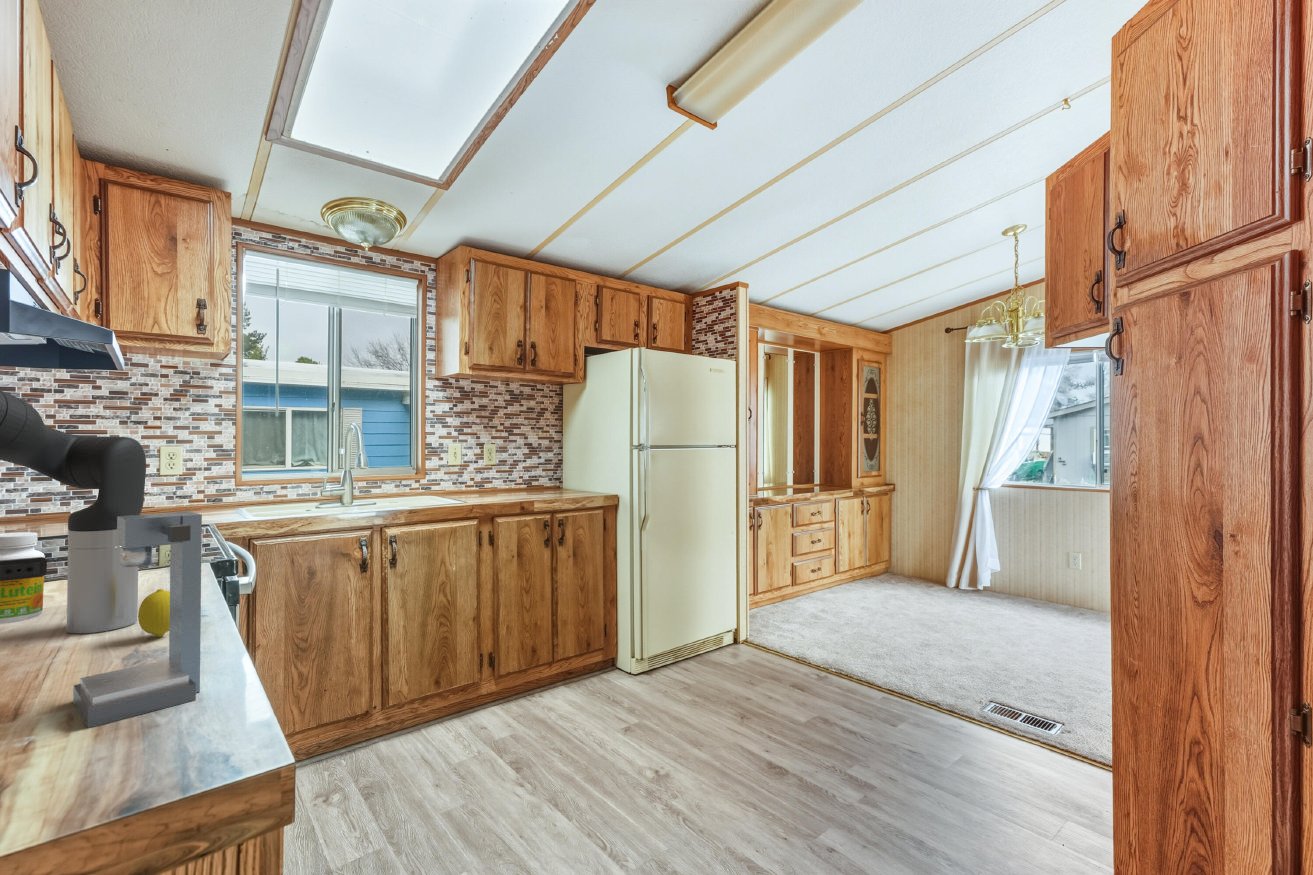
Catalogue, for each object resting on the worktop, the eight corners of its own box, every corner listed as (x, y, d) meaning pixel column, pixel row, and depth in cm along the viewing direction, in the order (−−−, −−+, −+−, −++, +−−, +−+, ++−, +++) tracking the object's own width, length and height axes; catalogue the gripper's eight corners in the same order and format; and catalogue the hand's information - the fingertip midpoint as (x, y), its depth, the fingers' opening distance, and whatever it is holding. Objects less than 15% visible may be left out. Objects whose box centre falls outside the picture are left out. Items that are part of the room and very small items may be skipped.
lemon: (154, 632, 104) (154, 585, 104) (188, 631, 104) (189, 584, 104) (128, 643, 98) (129, 593, 98) (165, 642, 99) (166, 592, 99)
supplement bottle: (-3, 627, 67) (0, 538, 67) (-39, 623, 68) (-35, 536, 68) (54, 614, 72) (58, 532, 73) (20, 611, 73) (24, 530, 74)
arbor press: (73, 701, 76) (75, 516, 76) (182, 675, 85) (184, 509, 85) (93, 738, 67) (96, 527, 67) (214, 705, 75) (216, 518, 75)
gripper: (-212, 555, 55) (52, 537, 68) (-189, 539, 64) (39, 525, 77) (-216, 639, 55) (49, 605, 68) (-192, 610, 64) (37, 585, 77)
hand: (43, 563), depth 72 cm, fingers closed on supplement bottle, 5 cm apart
